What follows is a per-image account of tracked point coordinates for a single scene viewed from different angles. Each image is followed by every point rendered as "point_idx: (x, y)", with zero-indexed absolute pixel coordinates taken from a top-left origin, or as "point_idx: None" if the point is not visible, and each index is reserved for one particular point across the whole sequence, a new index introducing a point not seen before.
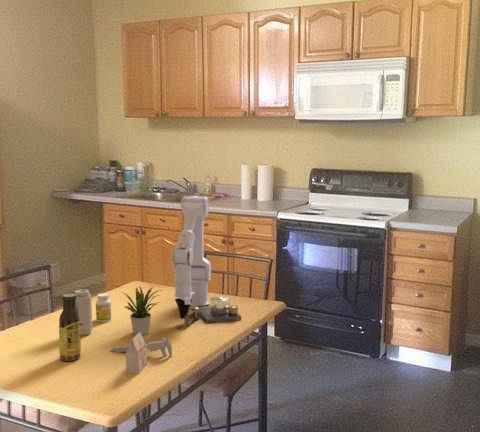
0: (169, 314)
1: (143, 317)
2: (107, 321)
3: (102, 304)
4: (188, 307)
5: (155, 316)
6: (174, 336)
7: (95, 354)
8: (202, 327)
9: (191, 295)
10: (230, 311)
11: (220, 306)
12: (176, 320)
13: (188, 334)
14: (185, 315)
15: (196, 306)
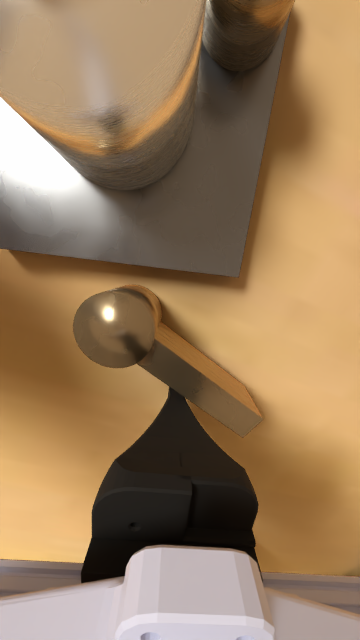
0: (24, 399)
1: None
2: None
3: None
4: (204, 434)
5: (39, 454)
6: (308, 454)
7: None
8: (276, 322)
9: (296, 625)
10: (282, 7)
11: (196, 67)
12: (124, 396)
13: (321, 406)
14: (238, 430)
15: (86, 308)
